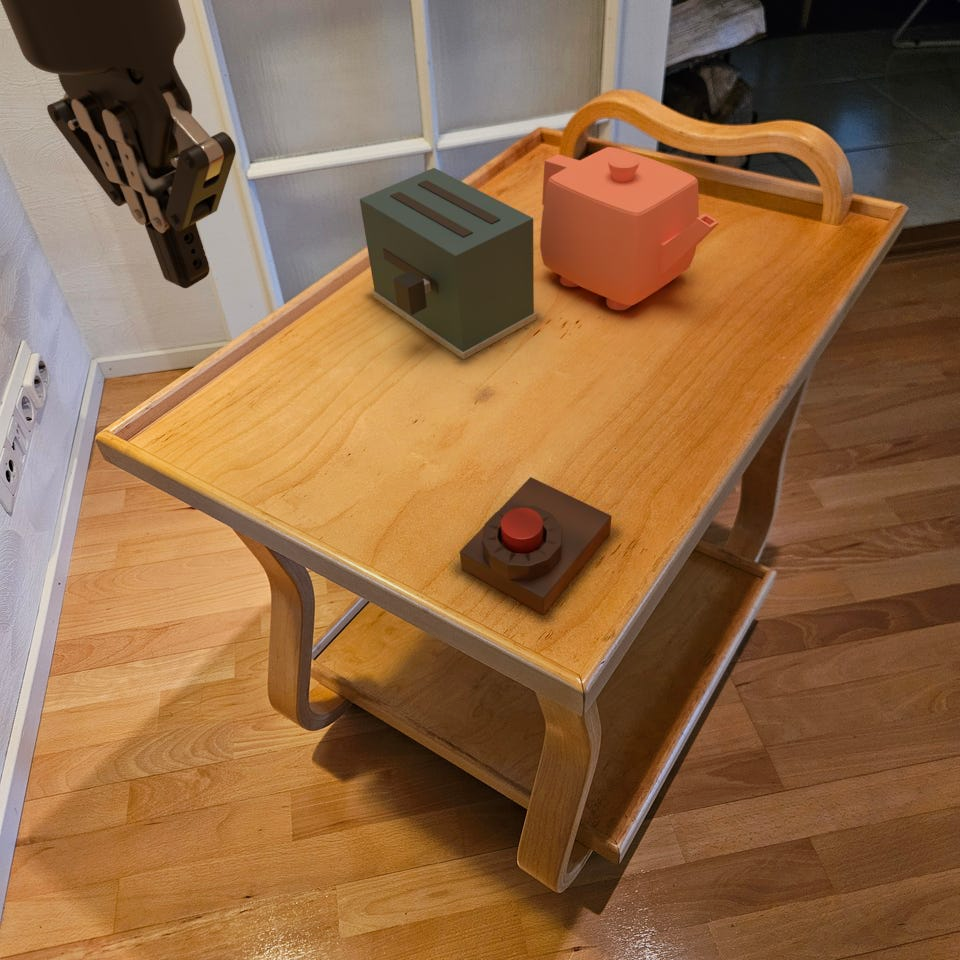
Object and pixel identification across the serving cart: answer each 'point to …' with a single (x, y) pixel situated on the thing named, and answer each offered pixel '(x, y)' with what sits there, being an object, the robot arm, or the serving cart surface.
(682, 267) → the teapot
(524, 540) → the power button
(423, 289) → the slider
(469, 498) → the serving cart surface
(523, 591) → the switch block
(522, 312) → the toaster
